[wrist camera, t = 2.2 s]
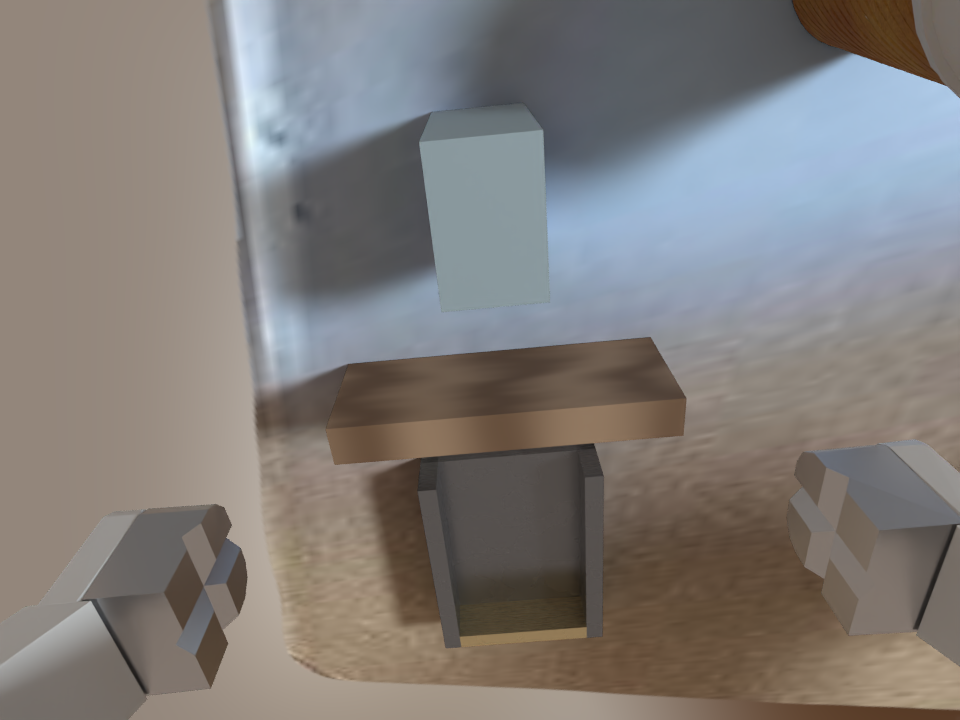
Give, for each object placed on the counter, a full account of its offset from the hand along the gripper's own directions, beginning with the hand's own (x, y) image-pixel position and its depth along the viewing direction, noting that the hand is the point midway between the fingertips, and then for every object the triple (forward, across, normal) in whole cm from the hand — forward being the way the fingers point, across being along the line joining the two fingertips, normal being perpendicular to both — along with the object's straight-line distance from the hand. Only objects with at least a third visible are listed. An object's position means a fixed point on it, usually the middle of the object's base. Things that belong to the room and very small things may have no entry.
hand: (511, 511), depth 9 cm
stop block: (+22, 0, 0) cm, 22 cm away
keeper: (+22, 0, +22) cm, 31 cm away
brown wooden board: (+22, 0, +10) cm, 24 cm away
